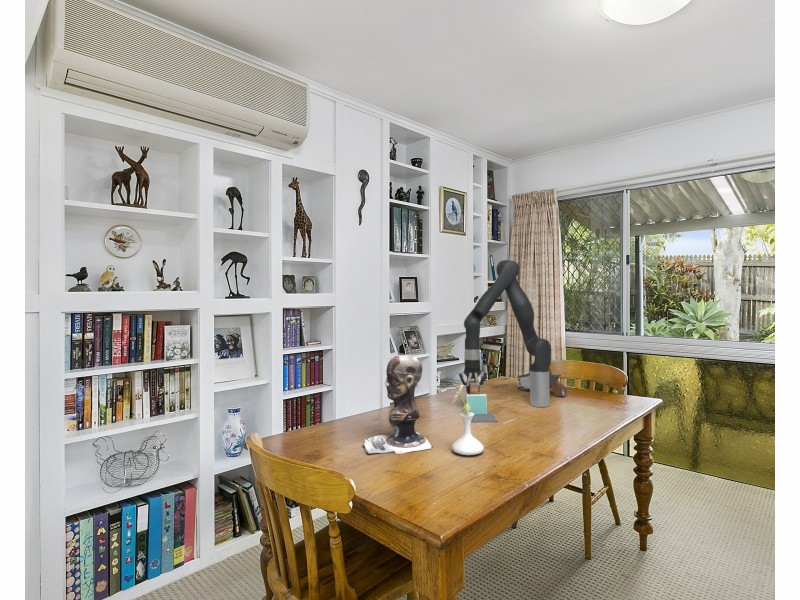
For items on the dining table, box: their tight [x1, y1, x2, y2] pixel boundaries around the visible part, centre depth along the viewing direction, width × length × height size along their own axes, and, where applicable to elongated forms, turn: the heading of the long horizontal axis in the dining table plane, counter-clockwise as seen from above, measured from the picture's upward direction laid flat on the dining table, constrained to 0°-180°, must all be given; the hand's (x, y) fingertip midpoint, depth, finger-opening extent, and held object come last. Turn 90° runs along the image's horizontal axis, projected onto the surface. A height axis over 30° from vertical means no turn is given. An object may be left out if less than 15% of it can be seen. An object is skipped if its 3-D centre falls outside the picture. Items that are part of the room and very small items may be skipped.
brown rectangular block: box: [468, 379, 479, 395], centre depth 217 cm, size 10×4×6 cm, turn 0°
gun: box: [516, 368, 568, 398], centre depth 247 cm, size 5×27×15 cm, turn 39°
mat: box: [471, 411, 498, 424], centre depth 203 cm, size 14×14×1 cm
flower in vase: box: [451, 384, 485, 456], centre depth 160 cm, size 13×11×25 cm
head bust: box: [362, 354, 434, 456], centre depth 171 cm, size 22×25×35 cm
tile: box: [466, 393, 488, 415], centre depth 207 cm, size 2×9×9 cm, turn 90°
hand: (472, 393), depth 217 cm, fingers closed on brown rectangular block, 3 cm apart
